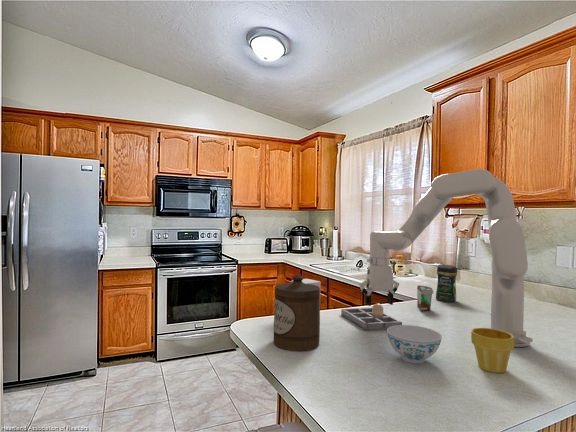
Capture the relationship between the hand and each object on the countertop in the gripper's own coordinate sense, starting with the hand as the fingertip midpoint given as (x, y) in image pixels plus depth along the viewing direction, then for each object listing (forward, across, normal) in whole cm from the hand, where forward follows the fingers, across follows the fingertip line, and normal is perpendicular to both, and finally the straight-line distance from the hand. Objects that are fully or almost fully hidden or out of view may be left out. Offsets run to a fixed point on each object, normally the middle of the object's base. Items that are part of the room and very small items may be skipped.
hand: (379, 304), depth 142 cm
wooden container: (+6, -40, -18) cm, 45 cm away
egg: (+6, 0, 0) cm, 6 cm away
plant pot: (+8, +8, -48) cm, 49 cm away
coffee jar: (+7, +55, +30) cm, 63 cm away
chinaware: (+7, -10, -38) cm, 39 cm away
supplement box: (+6, -28, +10) cm, 31 cm away
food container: (+7, +32, +14) cm, 36 cm away
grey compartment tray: (+7, -4, 0) cm, 8 cm away
